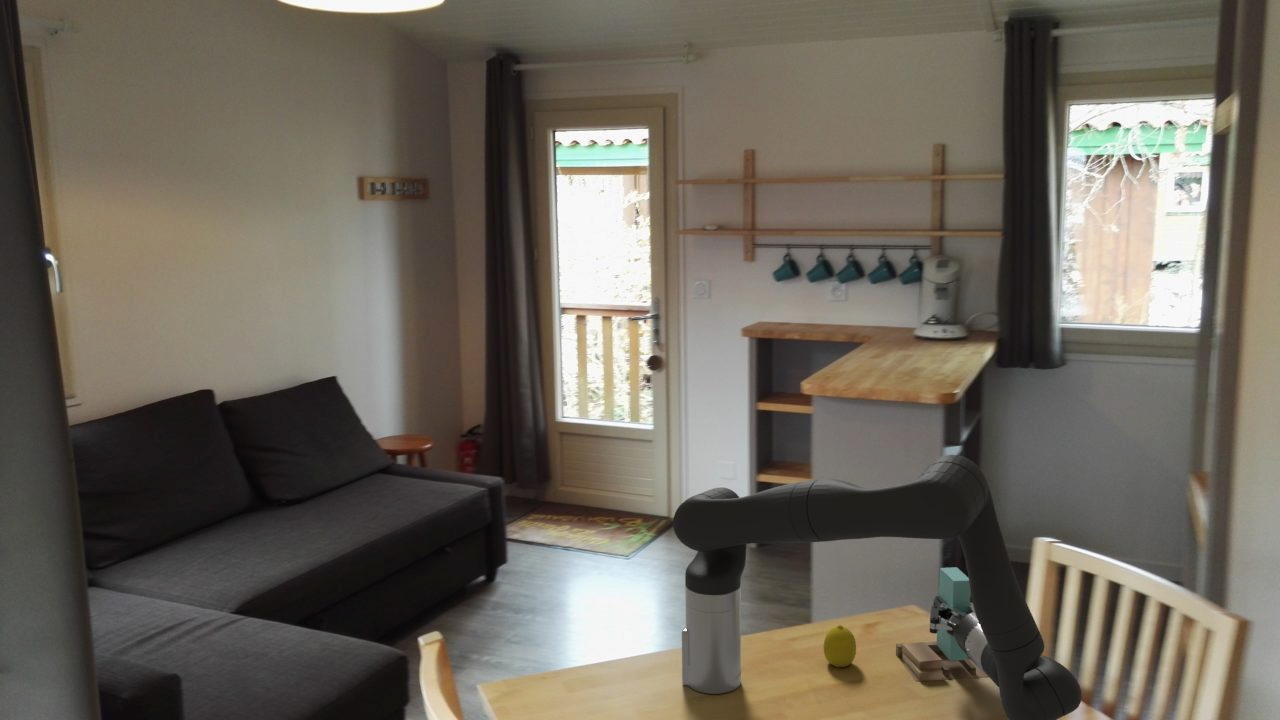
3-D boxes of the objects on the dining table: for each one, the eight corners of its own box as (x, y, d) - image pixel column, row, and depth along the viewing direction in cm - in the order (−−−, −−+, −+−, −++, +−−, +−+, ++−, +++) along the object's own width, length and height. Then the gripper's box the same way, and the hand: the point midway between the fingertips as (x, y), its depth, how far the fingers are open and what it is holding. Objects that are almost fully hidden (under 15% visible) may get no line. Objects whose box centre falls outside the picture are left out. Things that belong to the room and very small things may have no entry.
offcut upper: (919, 670, 168) (919, 661, 168) (902, 652, 175) (902, 643, 174) (941, 668, 168) (942, 659, 168) (923, 650, 175) (923, 641, 175)
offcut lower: (918, 680, 167) (919, 672, 167) (902, 659, 175) (902, 651, 175) (942, 679, 168) (942, 671, 167) (924, 658, 175) (925, 650, 175)
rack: (915, 686, 167) (916, 666, 167) (895, 659, 177) (896, 641, 177) (1008, 681, 169) (1009, 661, 168) (983, 654, 179) (984, 636, 178)
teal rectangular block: (950, 660, 169) (953, 581, 166) (936, 644, 174) (939, 567, 172) (967, 659, 169) (971, 580, 167) (953, 644, 175) (956, 567, 172)
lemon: (861, 667, 174) (862, 624, 173) (845, 679, 170) (846, 634, 169) (833, 658, 178) (834, 616, 177) (817, 670, 174) (817, 626, 173)
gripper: (1034, 619, 156) (987, 578, 173) (947, 623, 155) (908, 581, 172) (1032, 665, 157) (985, 619, 174) (945, 669, 156) (906, 623, 173)
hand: (947, 601), depth 173 cm, fingers closed on teal rectangular block, 3 cm apart
